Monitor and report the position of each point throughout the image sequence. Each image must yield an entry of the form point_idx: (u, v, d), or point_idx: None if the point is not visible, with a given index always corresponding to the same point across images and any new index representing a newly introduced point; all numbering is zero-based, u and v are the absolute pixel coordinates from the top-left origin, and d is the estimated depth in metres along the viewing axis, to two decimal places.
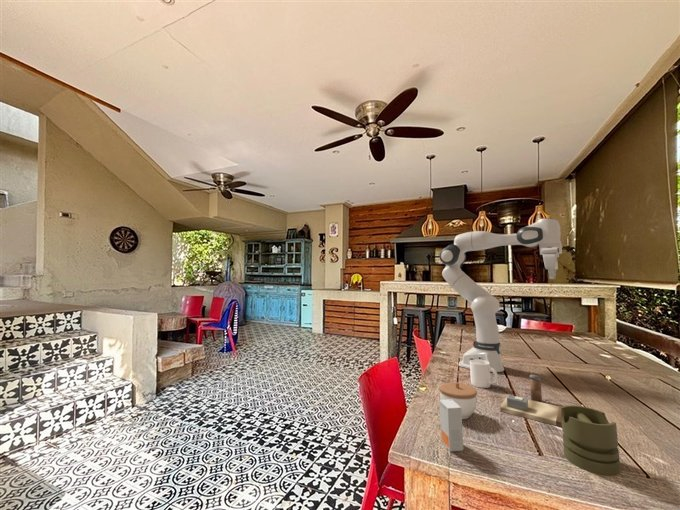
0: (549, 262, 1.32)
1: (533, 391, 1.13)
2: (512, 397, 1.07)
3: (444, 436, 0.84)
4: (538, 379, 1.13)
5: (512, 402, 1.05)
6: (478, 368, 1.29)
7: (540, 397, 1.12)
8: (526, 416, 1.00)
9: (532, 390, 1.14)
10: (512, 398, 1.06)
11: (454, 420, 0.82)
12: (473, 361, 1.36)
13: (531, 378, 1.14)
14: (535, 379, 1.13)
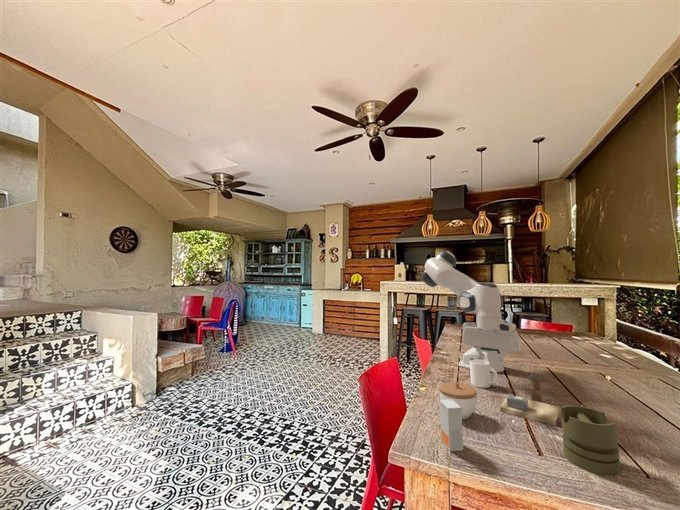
0: (519, 343, 1.06)
1: (533, 391, 1.13)
2: (512, 397, 1.07)
3: (444, 436, 0.84)
4: (538, 379, 1.13)
5: (512, 402, 1.05)
6: (478, 368, 1.29)
7: (540, 397, 1.12)
8: (526, 416, 1.00)
9: (532, 390, 1.14)
10: (512, 398, 1.06)
11: (454, 420, 0.82)
12: (473, 361, 1.36)
13: (531, 378, 1.14)
14: (535, 379, 1.13)
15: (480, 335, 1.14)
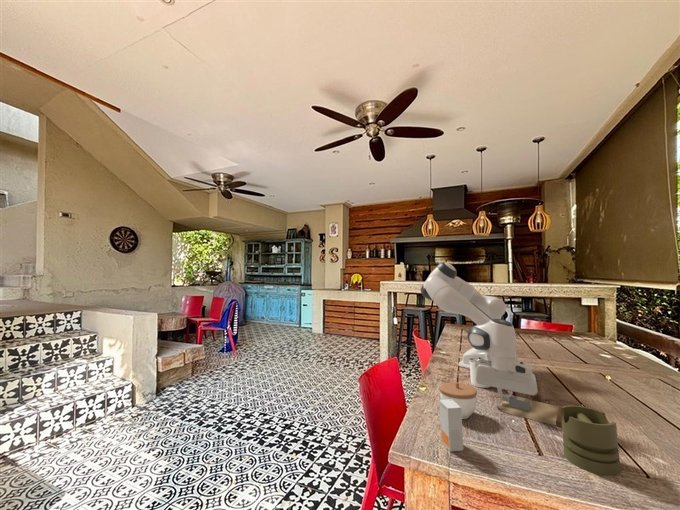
0: (536, 386, 1.02)
1: None
2: (514, 398, 1.06)
3: (444, 436, 0.84)
4: (538, 379, 1.13)
5: (514, 402, 1.04)
6: None
7: (540, 397, 1.12)
8: (526, 416, 1.00)
9: None
10: (514, 399, 1.05)
11: (454, 420, 0.82)
12: (473, 361, 1.36)
13: None
14: None
15: (494, 374, 1.09)
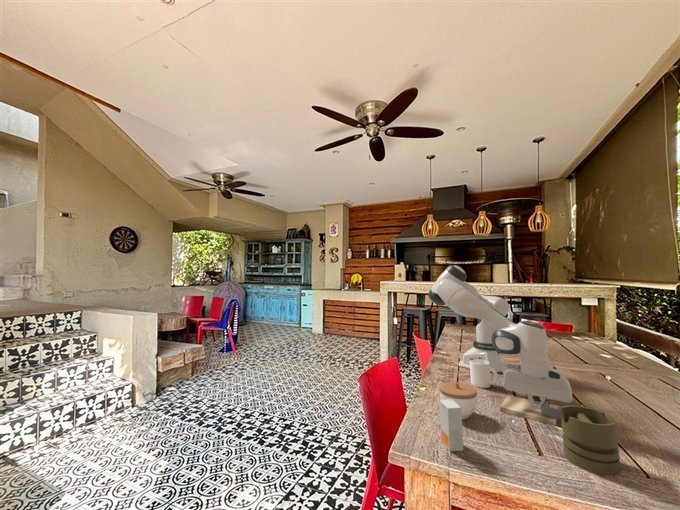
0: (571, 392, 0.95)
1: None
2: (546, 405, 1.00)
3: (444, 436, 0.84)
4: None
5: (547, 410, 0.98)
6: (478, 368, 1.29)
7: None
8: (526, 416, 1.00)
9: None
10: (547, 406, 0.99)
11: (454, 420, 0.82)
12: (473, 361, 1.36)
13: None
14: None
15: (524, 380, 1.03)
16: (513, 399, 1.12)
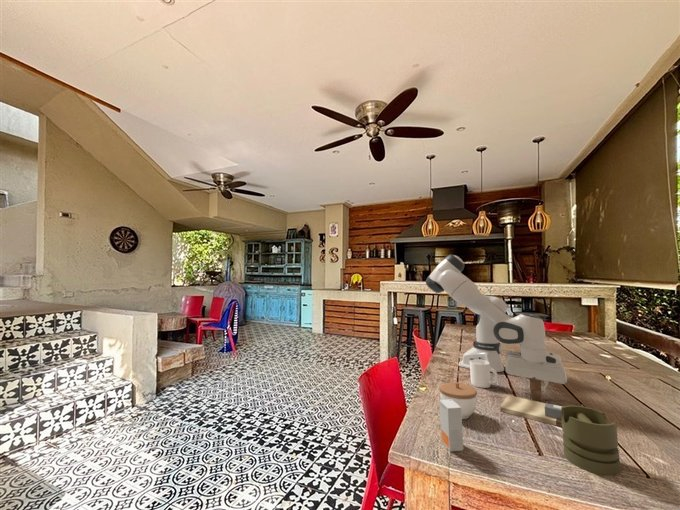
0: (565, 375, 1.08)
1: (533, 391, 1.13)
2: (550, 406, 0.99)
3: (444, 436, 0.84)
4: None
5: (551, 411, 0.97)
6: (478, 368, 1.29)
7: (540, 397, 1.12)
8: (526, 416, 1.00)
9: (532, 390, 1.14)
10: (550, 407, 0.98)
11: (454, 420, 0.82)
12: (473, 361, 1.36)
13: (531, 378, 1.14)
14: (535, 379, 1.13)
15: (524, 365, 1.16)
16: (513, 399, 1.12)
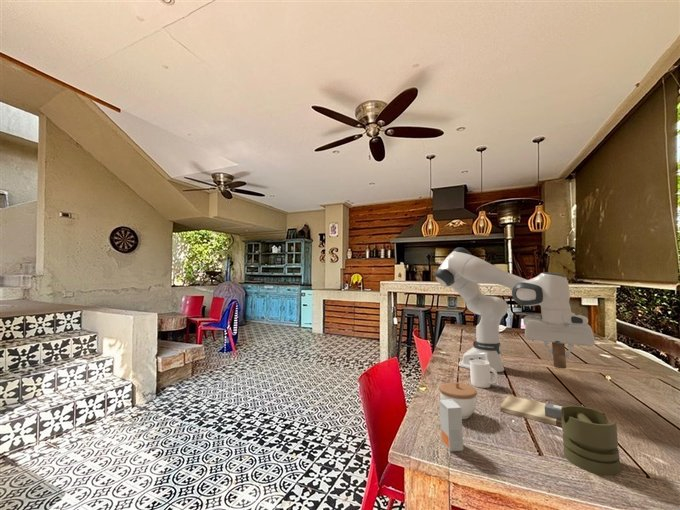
0: (593, 336, 0.98)
1: (556, 356, 1.03)
2: (550, 406, 0.99)
3: (444, 436, 0.84)
4: (562, 343, 1.02)
5: (551, 411, 0.97)
6: (478, 368, 1.29)
7: (564, 362, 1.02)
8: (526, 416, 1.00)
9: (555, 355, 1.03)
10: (550, 407, 0.98)
11: (454, 420, 0.82)
12: (473, 361, 1.36)
13: (554, 342, 1.04)
14: (558, 343, 1.03)
15: (546, 328, 1.05)
16: (513, 399, 1.12)
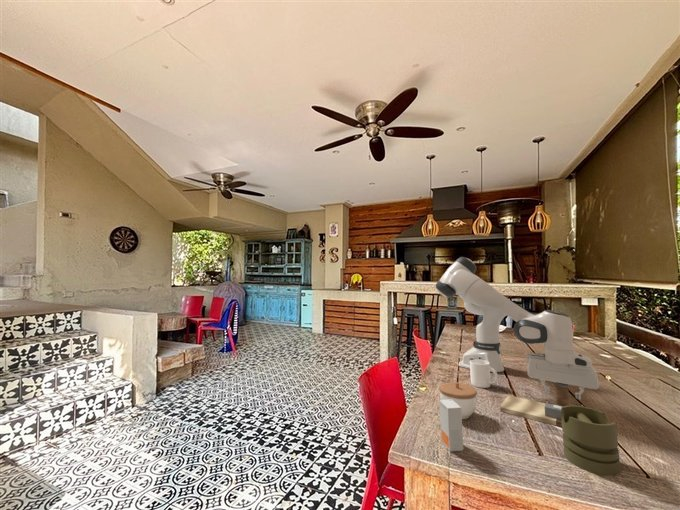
0: (597, 379, 0.97)
1: (559, 400, 1.02)
2: (550, 406, 0.99)
3: (444, 436, 0.84)
4: (565, 386, 1.01)
5: (551, 411, 0.97)
6: (478, 368, 1.29)
7: None
8: (526, 416, 1.00)
9: (558, 399, 1.02)
10: (550, 407, 0.98)
11: (454, 420, 0.82)
12: (473, 361, 1.36)
13: (557, 385, 1.02)
14: (562, 386, 1.01)
15: (549, 368, 1.04)
16: (513, 399, 1.12)
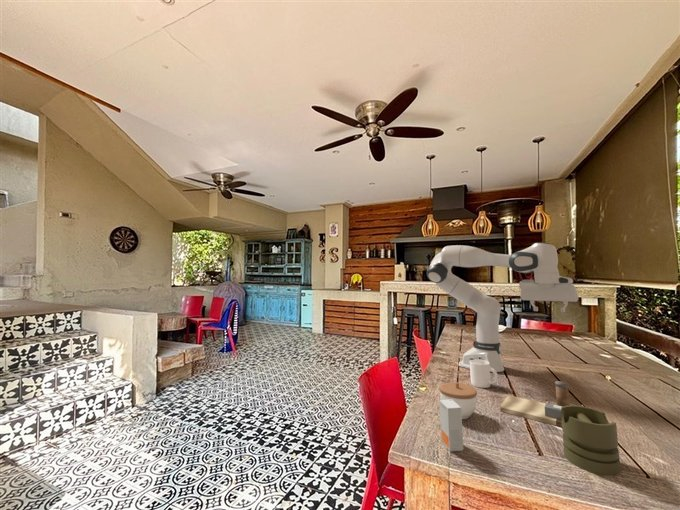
0: (577, 294, 1.17)
1: (559, 400, 1.02)
2: (550, 406, 0.99)
3: (444, 436, 0.84)
4: (565, 386, 1.01)
5: (551, 411, 0.97)
6: (478, 368, 1.29)
7: None
8: (526, 416, 1.00)
9: (558, 399, 1.02)
10: (550, 407, 0.98)
11: (454, 420, 0.82)
12: (473, 361, 1.36)
13: (557, 385, 1.02)
14: (562, 386, 1.01)
15: (538, 289, 1.25)
16: (513, 399, 1.12)
